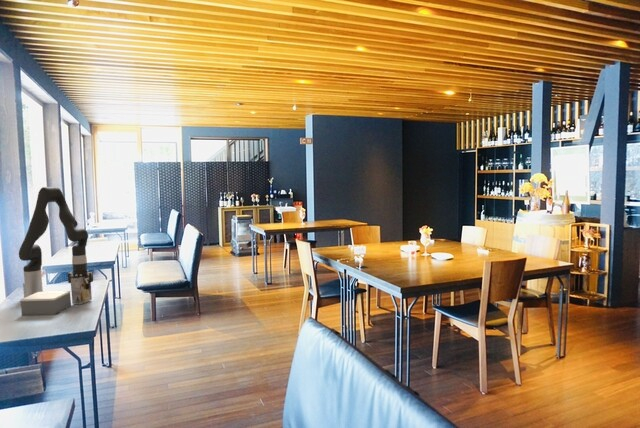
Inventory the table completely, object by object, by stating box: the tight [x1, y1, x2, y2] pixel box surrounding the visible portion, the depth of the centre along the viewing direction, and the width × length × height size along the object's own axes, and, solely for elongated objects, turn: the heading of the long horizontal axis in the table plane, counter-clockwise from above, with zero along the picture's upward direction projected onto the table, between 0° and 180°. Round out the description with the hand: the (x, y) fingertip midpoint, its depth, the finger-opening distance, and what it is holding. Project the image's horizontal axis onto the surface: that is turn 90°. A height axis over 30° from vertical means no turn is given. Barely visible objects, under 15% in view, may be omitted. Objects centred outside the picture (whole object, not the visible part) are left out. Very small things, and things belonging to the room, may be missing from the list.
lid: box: [20, 290, 71, 302], centre depth 247 cm, size 18×16×1 cm
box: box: [20, 292, 72, 317], centre depth 247 cm, size 18×16×8 cm
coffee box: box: [70, 275, 93, 305], centre depth 262 cm, size 9×6×16 cm
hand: (81, 289), depth 262 cm, fingers closed on coffee box, 7 cm apart
